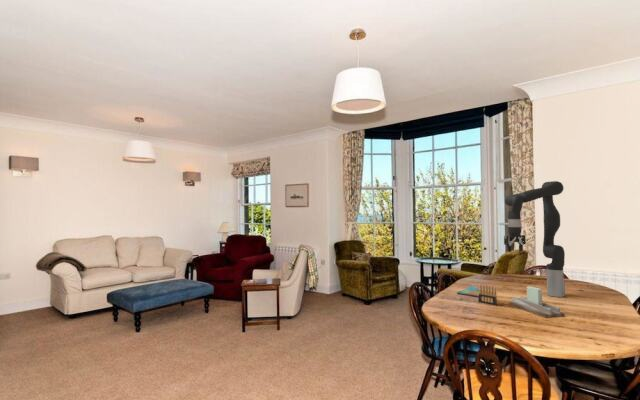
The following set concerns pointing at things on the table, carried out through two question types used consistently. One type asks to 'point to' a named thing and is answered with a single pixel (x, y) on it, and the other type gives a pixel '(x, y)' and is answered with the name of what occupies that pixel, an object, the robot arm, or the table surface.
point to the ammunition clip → (487, 294)
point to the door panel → (534, 295)
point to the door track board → (536, 308)
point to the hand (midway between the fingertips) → (515, 251)
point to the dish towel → (470, 292)
